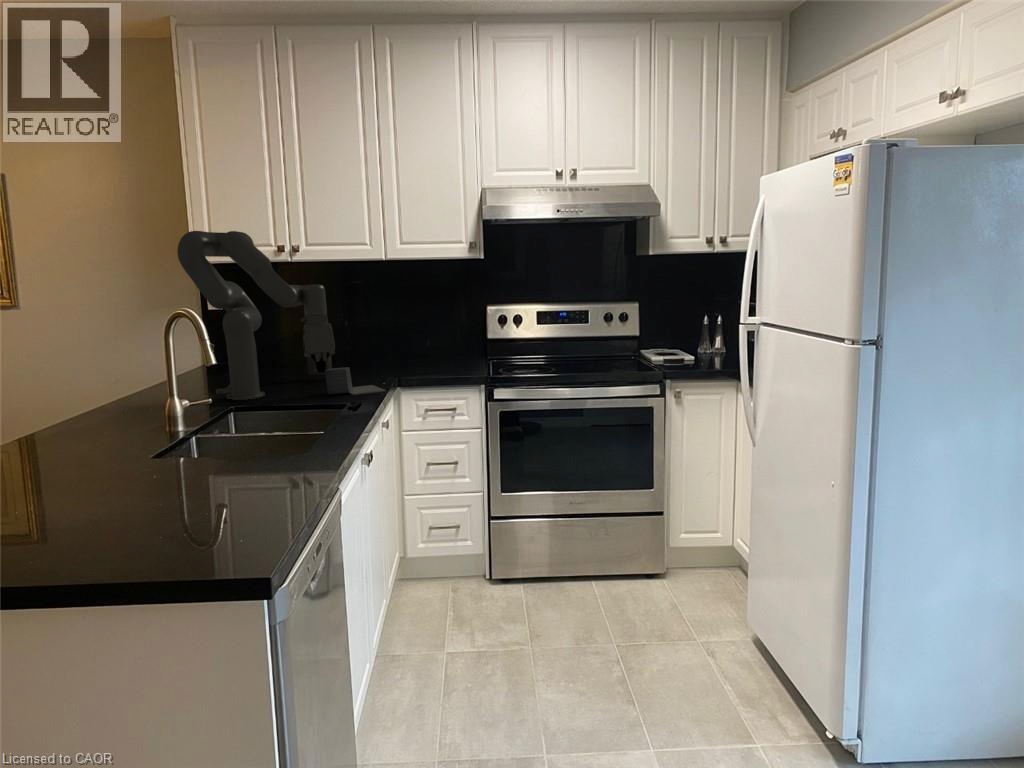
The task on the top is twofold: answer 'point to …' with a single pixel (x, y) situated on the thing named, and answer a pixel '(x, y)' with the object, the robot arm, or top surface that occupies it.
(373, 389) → the mat
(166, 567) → the top surface
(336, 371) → the medicine box
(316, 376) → the liquor
